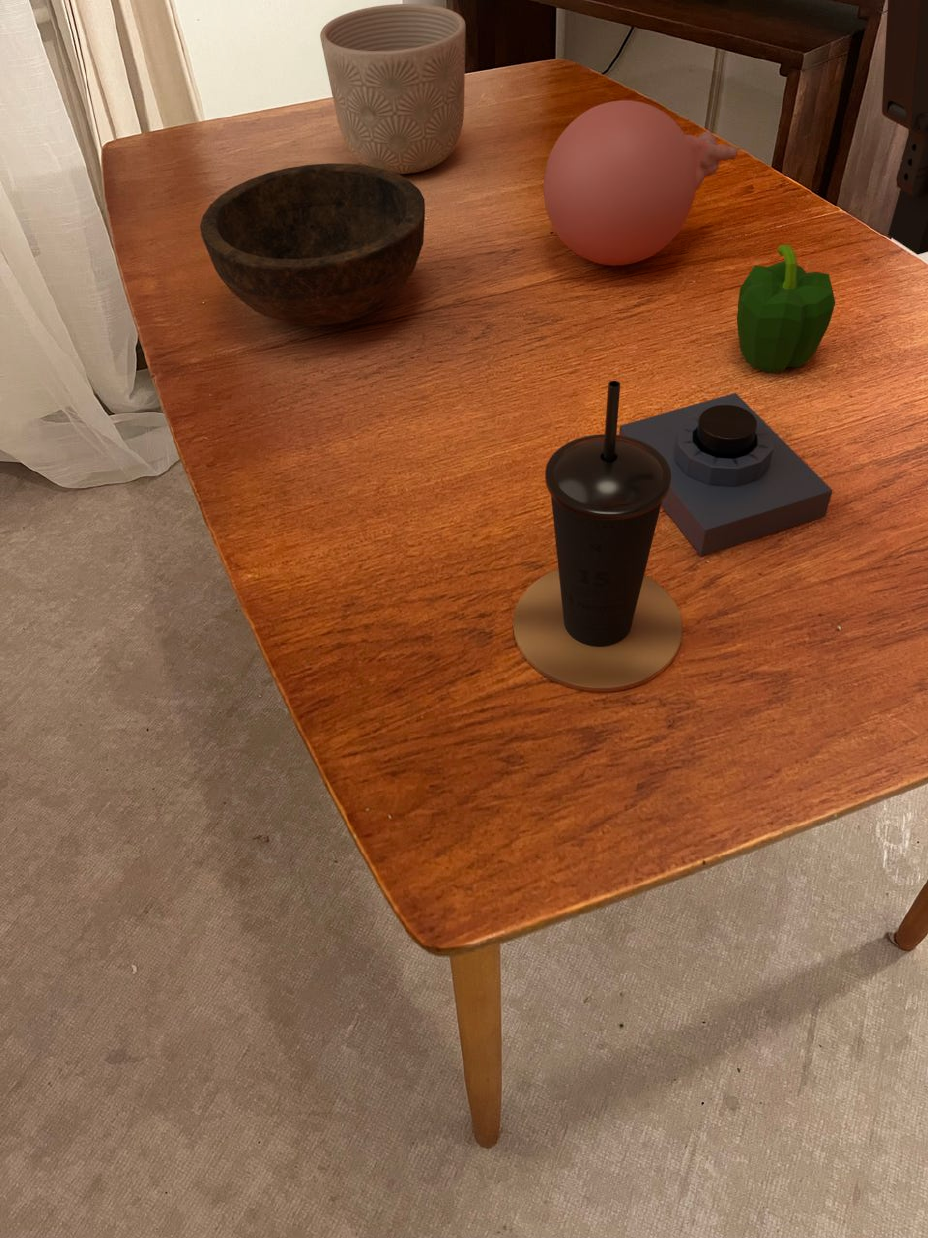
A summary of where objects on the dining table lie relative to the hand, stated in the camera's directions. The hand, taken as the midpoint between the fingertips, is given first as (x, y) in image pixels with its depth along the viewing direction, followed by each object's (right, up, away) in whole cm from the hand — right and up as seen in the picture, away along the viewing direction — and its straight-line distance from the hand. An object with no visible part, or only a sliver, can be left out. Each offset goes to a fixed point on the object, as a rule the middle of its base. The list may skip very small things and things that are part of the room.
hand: (913, 241), depth 58 cm
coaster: (-17, -23, +12) cm, 31 cm away
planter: (-34, +36, +67) cm, 83 cm away
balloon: (-8, +17, +48) cm, 52 cm away
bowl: (-41, +10, +44) cm, 61 cm away
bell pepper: (+2, +2, +34) cm, 34 cm away
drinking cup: (-17, -23, +12) cm, 31 cm away
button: (-6, -8, +19) cm, 22 cm away
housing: (-6, -11, +22) cm, 25 cm away
